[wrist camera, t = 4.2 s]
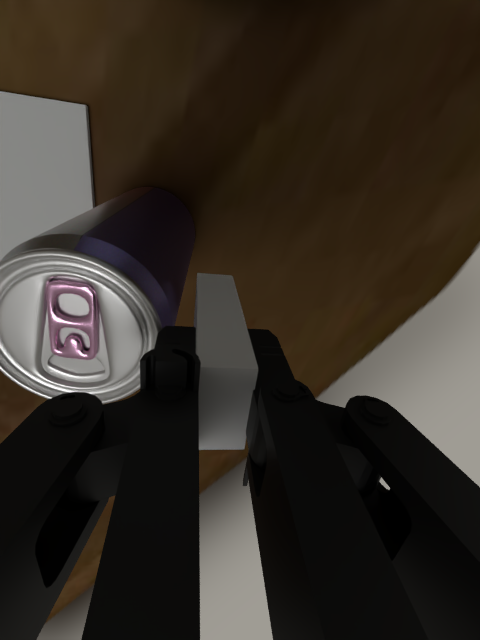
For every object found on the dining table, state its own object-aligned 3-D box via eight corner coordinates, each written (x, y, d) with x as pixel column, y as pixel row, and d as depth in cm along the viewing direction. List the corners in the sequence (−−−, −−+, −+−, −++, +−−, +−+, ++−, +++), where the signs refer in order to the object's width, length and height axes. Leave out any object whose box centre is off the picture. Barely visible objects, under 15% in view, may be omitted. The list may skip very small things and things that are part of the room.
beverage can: (201, 195, 22) (178, 264, 9) (190, 275, 25) (159, 418, 12) (112, 176, 21) (-57, 223, 8) (110, 262, 24) (-19, 400, 11)
